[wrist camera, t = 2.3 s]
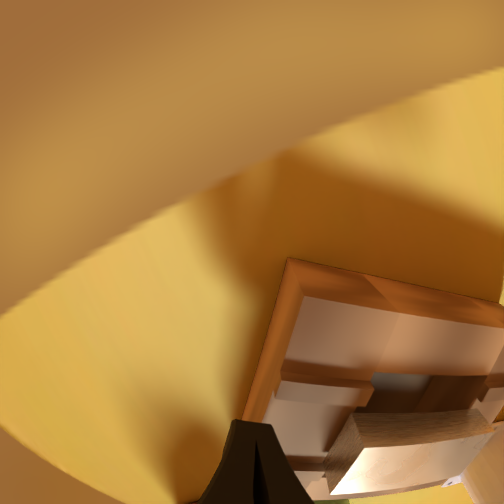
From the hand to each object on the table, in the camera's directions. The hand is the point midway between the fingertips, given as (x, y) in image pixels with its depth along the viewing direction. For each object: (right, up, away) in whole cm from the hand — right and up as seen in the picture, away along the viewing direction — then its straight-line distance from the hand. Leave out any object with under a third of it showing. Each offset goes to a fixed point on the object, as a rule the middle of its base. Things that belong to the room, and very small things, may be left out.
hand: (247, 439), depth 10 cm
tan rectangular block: (+7, -1, +1) cm, 7 cm away
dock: (+7, 0, +5) cm, 8 cm away
